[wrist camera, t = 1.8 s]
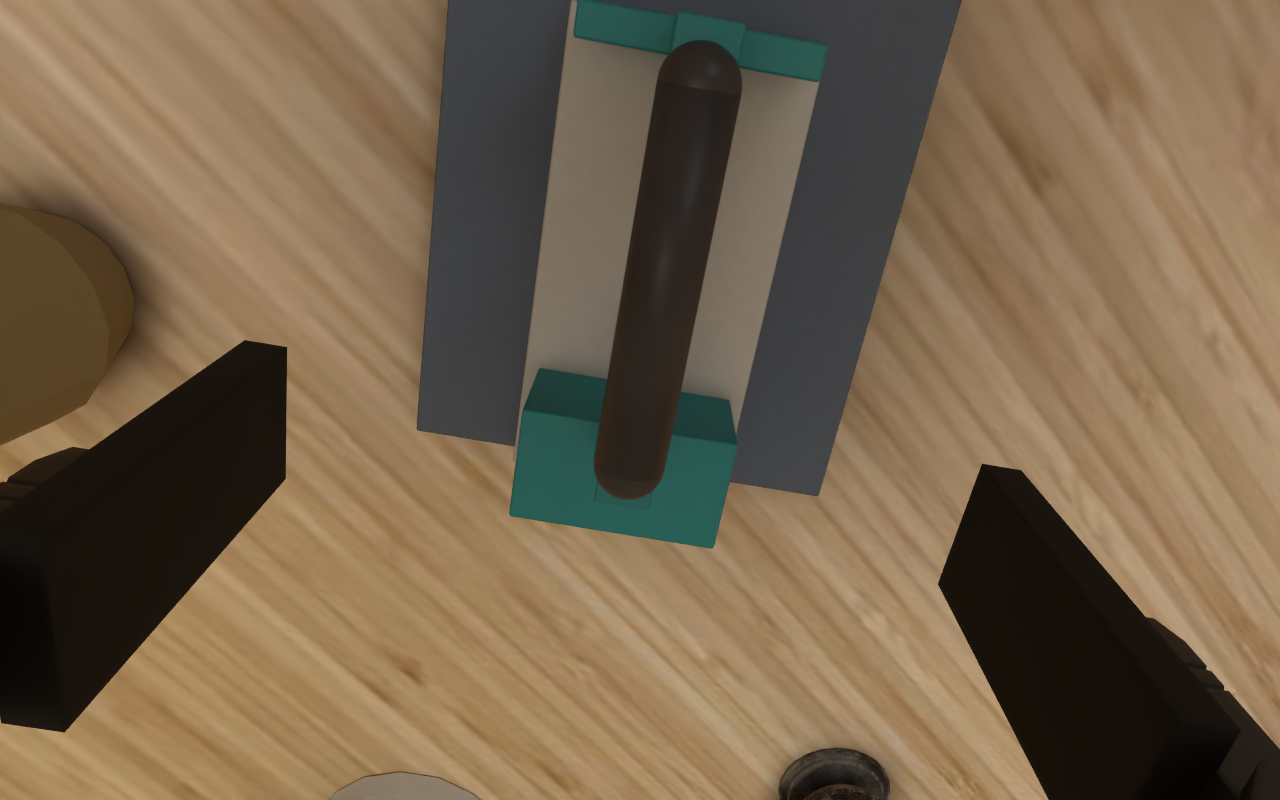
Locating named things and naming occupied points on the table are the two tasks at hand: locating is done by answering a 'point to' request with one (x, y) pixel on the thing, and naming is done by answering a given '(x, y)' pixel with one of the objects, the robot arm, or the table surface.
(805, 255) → the ironing mat
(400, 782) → the french press
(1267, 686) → the table surface
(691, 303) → the iron
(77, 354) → the squeeze bottle
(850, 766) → the salt shaker
